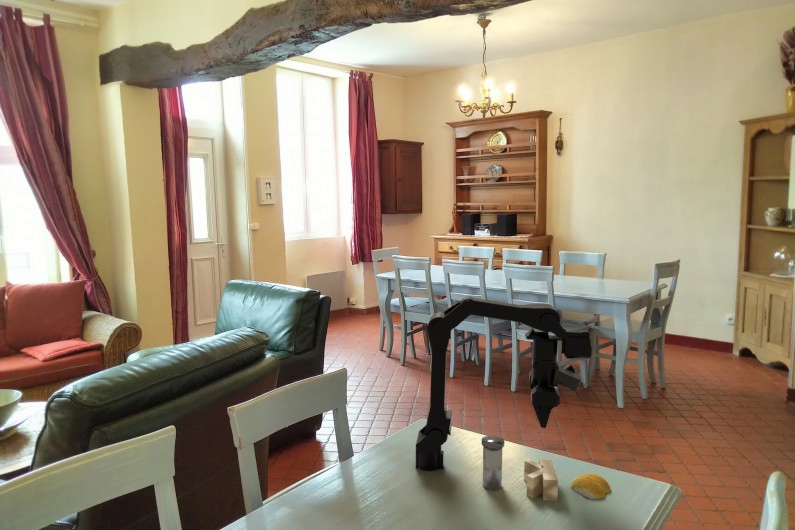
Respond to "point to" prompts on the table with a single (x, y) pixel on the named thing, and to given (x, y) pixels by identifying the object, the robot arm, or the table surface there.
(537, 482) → the v block
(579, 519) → the table surface
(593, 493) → the bread roll
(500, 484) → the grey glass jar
